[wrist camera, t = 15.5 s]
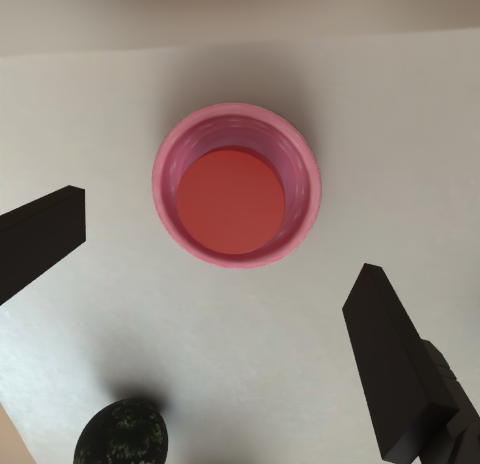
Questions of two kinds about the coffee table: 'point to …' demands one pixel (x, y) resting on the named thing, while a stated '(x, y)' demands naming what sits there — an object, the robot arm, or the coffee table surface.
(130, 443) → the decorative stone
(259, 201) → the jam lid
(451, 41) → the coffee table surface
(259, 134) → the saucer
